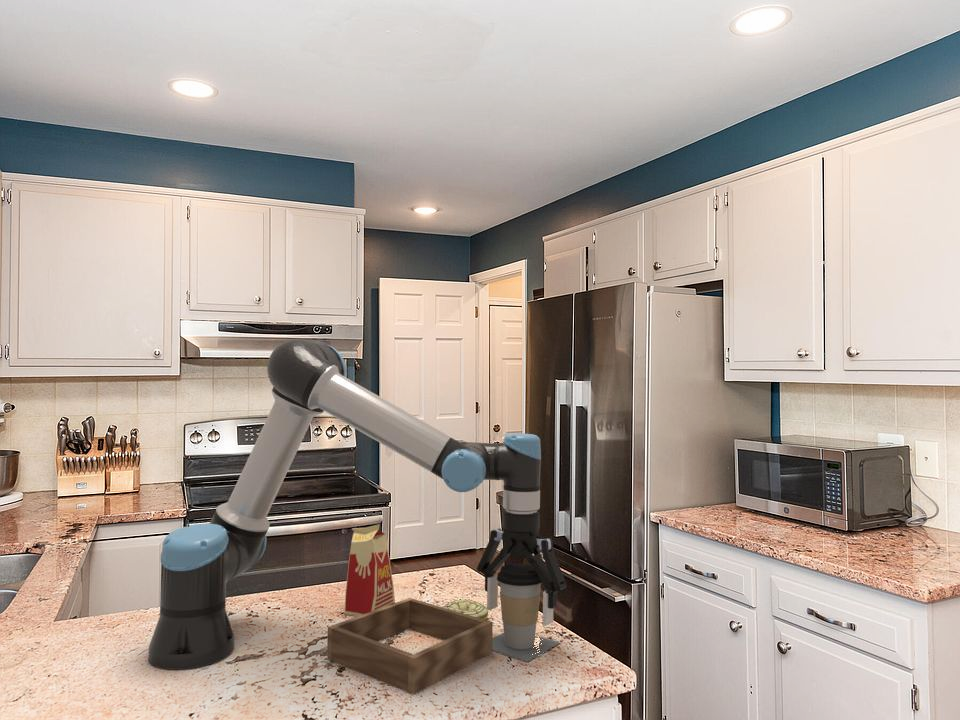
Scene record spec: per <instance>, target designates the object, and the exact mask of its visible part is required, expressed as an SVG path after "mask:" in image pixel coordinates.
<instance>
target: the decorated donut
mask: <svg viewBox="0 0 960 720" xmlns="http://www.w3.org/2000/svg"><path fill="white" fill-rule="evenodd" d="M442 607H443V608H446V609H449V610H453V611H456V612H460V613H463V614H467V615H470V616H473V617H477V618H480V619H484V620H487V619H488V616H489V610H487V605H485V604H483V603H482V602H478V601H476V600H472V599H456V600H452V601H450V602H447V603H446V604H445V605H443V606H442Z"/></svg>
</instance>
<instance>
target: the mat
mask: <svg viewBox="0 0 960 720" xmlns="http://www.w3.org/2000/svg"><path fill="white" fill-rule="evenodd" d="M538 636H539V635H538ZM537 638H538V637H537ZM539 638H540V640H541V641H540V643H539V648H537V647H538V646H537V647H534V646H535V645H533V647H534V648H533V647H531V648H529V649H524V650H519V649H513V648H510V647H508V646H506V645H505V639H504V632H502V633H500V634H498V635H496V636H494V637H492V652H494V653H497V654H500V655H503V656H506V655H507V657H509V656H510V658H512V657H513V658H512V659H515V658H517V659H516V660H518V659H519V661H521V660H523V661H522V662H524V661H526V662H525V663H527V662H528V661H530V660H531V661H533V660H534V659H533V658H535V657H536V658H538V657H539V656H538V655H540V654H542V653H543V652H545V651H547V650H548V651H550V650H552V649H553V648H552V647H554V648H556V647H557V646H559V645H560V644H561V642H560V641H556V640H552V639H549V638H546V637H543V636H539ZM542 639H543V640H542ZM536 643H537V642H536ZM541 643H542V645H540V644H541ZM558 644H559V645H558ZM556 645H557V646H556ZM536 648H537V649H536ZM551 648H552V649H551ZM538 649H540V650H538ZM549 649H550V650H549ZM537 650H538V651H537ZM539 651H540V652H539ZM548 651H547V652H548ZM537 652H539V653H537ZM535 653H536V654H535ZM545 653H546V652H545ZM532 654H533V655H532ZM543 654H544V653H543ZM543 654H542V655H543ZM537 656H538V657H537ZM540 656H541V655H540ZM536 658H535V659H536ZM532 659H533V660H532ZM531 661H530V662H531ZM528 663H529V662H528Z"/></svg>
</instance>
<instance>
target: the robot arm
mask: <svg viewBox="0 0 960 720" xmlns="http://www.w3.org/2000/svg"><path fill="white" fill-rule="evenodd" d="M346 365H347V364H346V362H345V359H344V357H343V355H342V354H341V353H340V352H339V351H338V350H337V349H336V348H334V347H333V346H331V345H329V344H328V343H324V342H322V341H316V340H315V341H313V340H307V339H300V338H294V339H289V340H286V341H283V342H282V343H280V344H279V345H277V346H276V347H275V348H274V350H273V351H272V352H271V354H270V356H269V358H268V361H267V364H266V367H267V368H266V370H267V371H266V372H267V377H268V379H269V382H270V384H271V385H272V386H273V387H272V389H271V393H272V396H273V399H274V403H273V405H272V407H271V408H270V412H269V413H268V416H267V417H266V420H265V422H264V425H263V426H262V428H261V430H260V433H259V434H258V437H257V439H256V441H255V443H254V446H253V448H252V450H251V452H250V453H249V456H248V458H247V460H246V462H245V465H244V467H243V468H242V471H241V472H240V475H239V477H238V480H237V482H236V484H235V486H234V488H233V490H232V493H231V495H230V497H229V499H228V501H227V502H224V503H221V504H220V505H217V507H216V509H215V511H214V513H213V515H212V518H211V520H210V522H209V523H197V524H191V525H189V526H183V527H179V528H176V529H175V530H173V531H171V532H170V533H168V534H167V535H166V536H165V537H164V539H163V541H162V547H161V553H160V557H159V559H160V591H159V593H160V596H159V597H160V599H159V602H160V603H159V607H160V608H159V617H158V621H157V623H156V625H155V628H154V631H153V635H152V637H151V640H150V643H149V645H148V653H147V656H148V657H147V659H148V662H149V663H150V664H151V665H152V666H154V667H157V668H160V669H165V670H166V669H167V670H186V669H187V670H188V669H194V668H201V667H204V666H207V665H211V664H215V663H217V662H219V661H222V660H224V659H225V658H227V657H228V656H230V655H231V654H232V652H234V649H235V635H234V632H233V629H232V626H231V622H230V619H229V616H228V613H227V608H226V602H227V601H226V598H227V594H226V593H227V583H228V582H229V581H232V580H233V579H235V578H237V577H239V575H242V574H244V573H246V572H248V571H249V570H251V569H252V568H253V567H255V565H256V564H257V563H258V562H259V561H260V559H261V558H262V557H263V556H264V553H265V551H266V547H267V536H266V534H267V533H268V531H269V528H270V524H271V523H270V522H269V519H268V517H267V516H268V514H269V512H270V510H271V508H272V506H273V503H274V501H275V499H276V498H277V495H278V493H279V491H280V489H281V487H282V485H283V482H284V479H285V477H286V476H287V473H288V471H289V470H290V467H291V465H292V463H293V461H294V459H295V456H296V455H297V452H298V450H299V447H300V446H301V444H302V442H303V440H304V438H305V435H306V433H307V432H308V429H309V428H310V424H311V423H312V420H313V418H314V417H317V416H320V415H322V414H324V412H325V413H327V414H329V415H331V416H332V417H334V418H336V419H338V420H340V421H341V422H343V423H345V424H347V425H348V426H349V427H351V428H354V429H355V430H357V431H358V432H360V433H362V434H364V435H365V436H367V437H369V438H371V439H373V440H375V441H377V442H378V443H379V444H381V445H383V446H384V447H387V448H388V449H390V450H392V451H393V452H395V453H397V454H399V455H400V456H402V457H404V458H406V459H408V460H409V461H411V462H413V463H415V464H416V465H418V466H419V467H421V468H423V469H425V470H427V471H428V472H431V474H434V475H435V476H437V477H438V478H439V479H442V480H443V482H444V484H445V485H446V486H447V487H448V488H449V489H450V490H452V491H454V492H457V493H468V492H471V491H473V490H474V489H476V488H479V486H480V485H481V484H482V483H483V481H503V485H502V489H503V490H502V492H503V493H502V508H503V509H504V510H503V511H502V528H503V530H502V529H501V528H496V529H495V528H494V529H492V530H491V531H489V532H490V533H489V541H488V543H487V545H486V547H485V549H484V551H483V553H482V555H481V558H480V560H479V563H478V565H477V567H476V570H477V572H479V573H481V574H483V576H484V591H485V592H486V607H487V610H488V611H491V610H494V609H496V608H498V607H499V606H498V601H499V596H498V595H499V581H498V580H497V572H498V570H499V569H501V567H502V566H503V564H504V563H505V562H506V560H507V559H509V557H510V556H511V557H518V558H520V559H526V560H527V561H528V563H530V565H532V566H533V567H534V569H535V571H536V572H537V574H538V576H539V578H540V579H541V581H542V582H541V584H543V586H544V588H545V590H544V591H543V593H542V626H544V627H547V626H549V625H551V624H553V623H554V609H555V608H556V607H557V605H558V592H559V591H561V590H564V589H566V588H567V583H566V580H565V577H564V574H563V571H562V568H561V567H560V564H559V563H560V562H559V561H558V558H557V556H556V553H555V549H554V541H553V539H552V538H551V537H547V538H540V537H539V532H540V524H541V523H540V520H541V519H540V517H541V515H540V514H541V513H540V512H539V511H538V510H540V508H541V467H542V454H541V453H542V448H541V438H540V437H539V436H538V435H536V434H534V433H533V434H531V433H507V434H506V435H504V438H503V441H502V442H499V443H497V442H496V443H492V442H491V443H489V442H472V441H471V442H470V441H464V440H463V441H459V440H457V439H455V438H453V437H451V436H449V435H448V434H447V433H445V432H442V431H441V430H439V429H437V428H436V427H435V426H432V425H430V424H429V423H426V422H425V421H423V420H422V419H419V418H418V417H416V416H414V415H412V414H411V413H409V412H408V411H405V410H404V409H402V408H400V407H399V406H397V405H395V404H393V403H392V402H390V401H388V400H386V399H385V398H384V397H381V396H379V395H378V394H377V393H374V392H372V391H371V390H369V389H367V388H365V387H364V386H361V384H359V383H356V382H354V381H353V380H351V379H349V378H347V376H346V375H347V366H346ZM501 541H503V543H504V546H502V548H501V549H500V550H499V553H498V554H497V556H496V557H495V558H494V556H495V554H496V552H497V550H498V548H499V546H500V544H501ZM540 550H541V552H540Z"/></svg>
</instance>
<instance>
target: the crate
mask: <svg viewBox="0 0 960 720" xmlns="http://www.w3.org/2000/svg"><path fill="white" fill-rule="evenodd" d="M493 627H494V625H493V621H490V620H487V619H486V620H484V619H480V618H477V617H473V616H470V615H467V614H463V613H460V612H456V611H453V610H449V609H446V608H443V606H439V605H435V604H432V603H428V602H425V601H422V600H418V599H415V598H412V597H408V598H405V599H403V600H399V601H397V602H395V603H394V604H391V605H388V606H385V607H382V608H380V609H377V610H374V611H371V612H368V613H366V614H363V615H360V616H353V617H352V618H350V619H349V618H348V619H346V620H343V621H340V622H339V623H335V624H332V625H329V626H327V637H326V638H327V639H326V640H327V641H326V643H327V644H326V649H327V651H326V659H327V661H331V662H333V663H336V664H338V665H340V666H343V667H345V668H347V669H351V670H352V671H355V672H356V673H357V672H358V673H360V674H363V675H365V676H368V677H370V678H371V679H375V680H377V681H380V682H382V683H384V684H387V685H389V686H392V687H394V688H396V689H399V690H401V691H404V692H407V694H408V693H409V694H411V695H415V694H417V693H419V692H420V691H422V690H425V689H427V688H428V687H430V686H432V685H435V684H436V683H437V682H440V681H442V680H443V679H446V678H447V677H449V676H451V675H453V674H455V673H457V672H458V671H459V672H460V671H461V670H462V669H464V668H466V667H469V666H470V665H472V664H474V663H476V662H478V661H480V660H481V659H482V660H483V659H484V658H486V657H487V655H488V656H489V655H492V654H493V651H492V638H493V632H494V631H493V629H494V628H493ZM408 630H412V631H415V632H417V633H421V634H423V635H426V634H427V635H428V636H429V635H430V637H432V636H433V638H435V639H438V640H439V639H440V640H441V642H437V643H436V644H433V645H431V646H429V647H427V648H424V649H422V650H420V651H418V652H415V653H414V654H413V653H410V652H408V651H406V650H402V649H399V648H397V647H394V646H391V645H389V644H386V643H383V642H381V641H383V640H385V639H388V638H390V637H393V636H394V635H398V634H400V633H403V632H405V631H408Z"/></svg>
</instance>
